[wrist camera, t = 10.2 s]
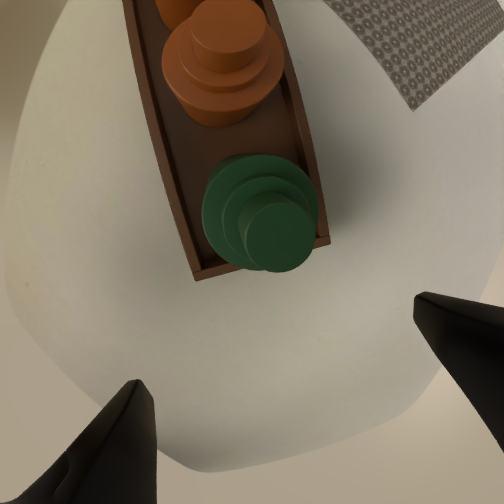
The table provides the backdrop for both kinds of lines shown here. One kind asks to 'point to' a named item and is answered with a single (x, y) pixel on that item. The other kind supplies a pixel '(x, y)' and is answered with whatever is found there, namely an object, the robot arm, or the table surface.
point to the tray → (214, 134)
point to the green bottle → (260, 212)
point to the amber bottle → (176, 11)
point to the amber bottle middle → (223, 61)
